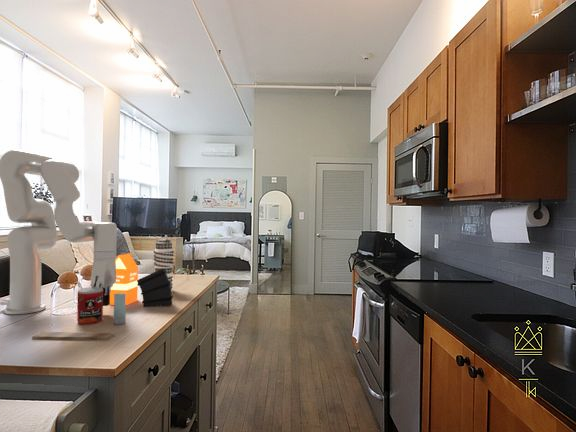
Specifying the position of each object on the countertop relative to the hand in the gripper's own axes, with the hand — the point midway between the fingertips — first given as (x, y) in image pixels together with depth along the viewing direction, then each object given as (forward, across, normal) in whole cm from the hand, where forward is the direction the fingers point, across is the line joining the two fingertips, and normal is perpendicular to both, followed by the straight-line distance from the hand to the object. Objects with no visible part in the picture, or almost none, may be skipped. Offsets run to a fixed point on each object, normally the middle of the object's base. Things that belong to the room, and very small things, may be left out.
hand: (104, 305), depth 132 cm
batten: (+3, +25, +4) cm, 26 cm away
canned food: (+3, +9, 0) cm, 10 cm away
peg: (+3, +11, +11) cm, 16 cm away
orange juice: (+3, -18, -1) cm, 18 cm away
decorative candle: (+3, -40, +8) cm, 41 cm away
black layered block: (+3, -13, +14) cm, 19 cm away
